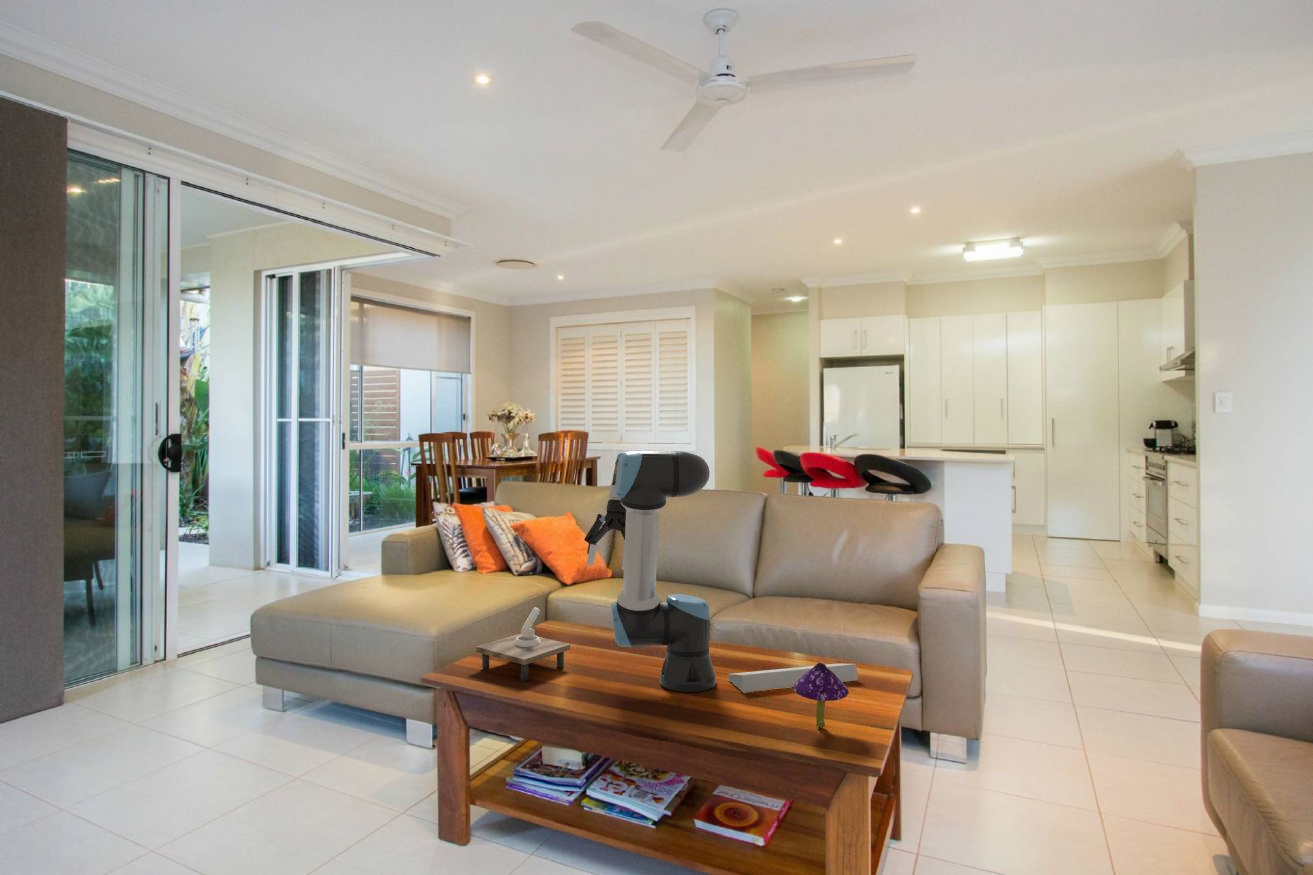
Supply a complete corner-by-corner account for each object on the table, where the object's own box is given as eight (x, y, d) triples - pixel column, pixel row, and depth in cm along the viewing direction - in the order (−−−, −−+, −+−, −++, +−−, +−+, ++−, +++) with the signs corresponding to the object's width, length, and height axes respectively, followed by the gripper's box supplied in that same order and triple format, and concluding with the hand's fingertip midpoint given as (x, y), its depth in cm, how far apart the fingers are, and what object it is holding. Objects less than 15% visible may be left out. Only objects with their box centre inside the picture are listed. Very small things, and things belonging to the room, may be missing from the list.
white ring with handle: (558, 621, 207) (548, 612, 202) (537, 658, 202) (527, 650, 197) (538, 613, 211) (529, 604, 205) (518, 649, 206) (507, 641, 200)
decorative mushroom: (822, 744, 150) (822, 675, 150) (781, 725, 160) (781, 660, 160) (860, 731, 157) (860, 665, 157) (818, 713, 167) (819, 651, 167)
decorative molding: (729, 692, 190) (743, 694, 180) (727, 674, 191) (741, 675, 182) (839, 681, 199) (858, 682, 190) (837, 663, 201) (855, 664, 192)
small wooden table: (570, 666, 202) (570, 644, 202) (524, 683, 187) (524, 659, 187) (522, 654, 213) (522, 633, 213) (475, 669, 199) (475, 646, 199)
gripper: (658, 506, 217) (646, 574, 212) (595, 501, 231) (582, 565, 225) (646, 500, 211) (633, 570, 206) (582, 496, 225) (568, 561, 219)
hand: (607, 568), depth 216 cm, fingers open, 13 cm apart
